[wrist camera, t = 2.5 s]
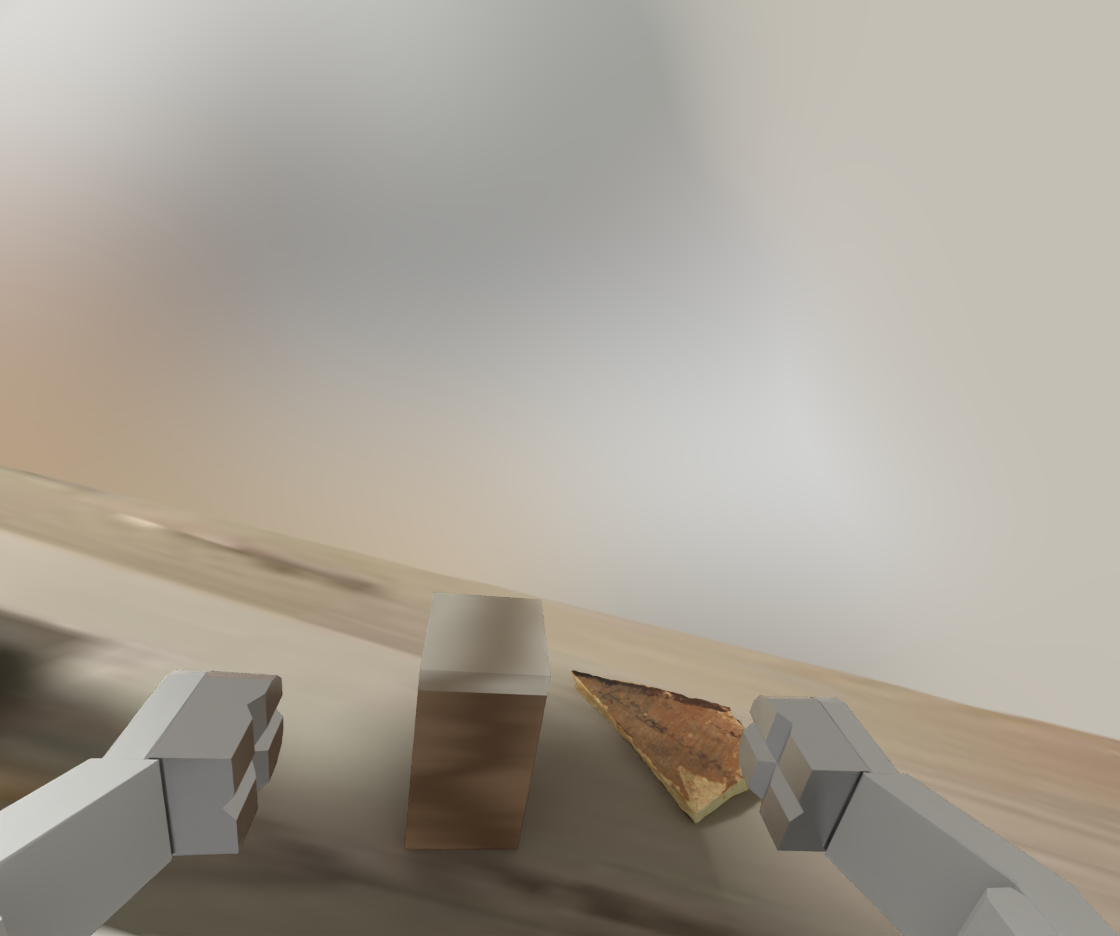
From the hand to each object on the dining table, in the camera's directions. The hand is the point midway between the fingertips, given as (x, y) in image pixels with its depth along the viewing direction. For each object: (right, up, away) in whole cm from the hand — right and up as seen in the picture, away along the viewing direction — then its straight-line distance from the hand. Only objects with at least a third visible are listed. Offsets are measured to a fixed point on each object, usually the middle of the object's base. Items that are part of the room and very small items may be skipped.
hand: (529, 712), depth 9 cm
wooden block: (-4, -12, +17) cm, 22 cm away
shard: (+6, -13, +22) cm, 26 cm away
